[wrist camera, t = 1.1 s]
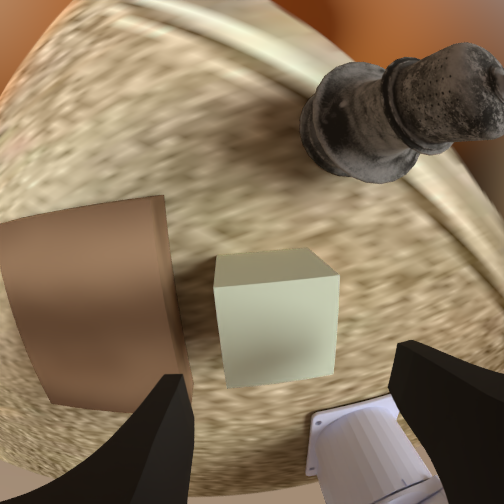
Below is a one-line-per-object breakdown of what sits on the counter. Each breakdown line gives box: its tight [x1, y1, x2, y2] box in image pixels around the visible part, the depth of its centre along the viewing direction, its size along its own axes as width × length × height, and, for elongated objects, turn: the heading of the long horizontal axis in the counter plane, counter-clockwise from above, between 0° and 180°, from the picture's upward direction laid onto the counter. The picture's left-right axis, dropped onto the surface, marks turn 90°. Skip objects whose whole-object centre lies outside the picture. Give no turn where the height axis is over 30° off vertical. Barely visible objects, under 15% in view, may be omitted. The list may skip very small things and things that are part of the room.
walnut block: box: [0, 195, 194, 413], centre depth 14 cm, size 12×10×3 cm
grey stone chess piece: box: [300, 42, 504, 184], centre depth 9 cm, size 6×6×12 cm
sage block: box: [213, 248, 340, 388], centre depth 14 cm, size 5×5×5 cm
